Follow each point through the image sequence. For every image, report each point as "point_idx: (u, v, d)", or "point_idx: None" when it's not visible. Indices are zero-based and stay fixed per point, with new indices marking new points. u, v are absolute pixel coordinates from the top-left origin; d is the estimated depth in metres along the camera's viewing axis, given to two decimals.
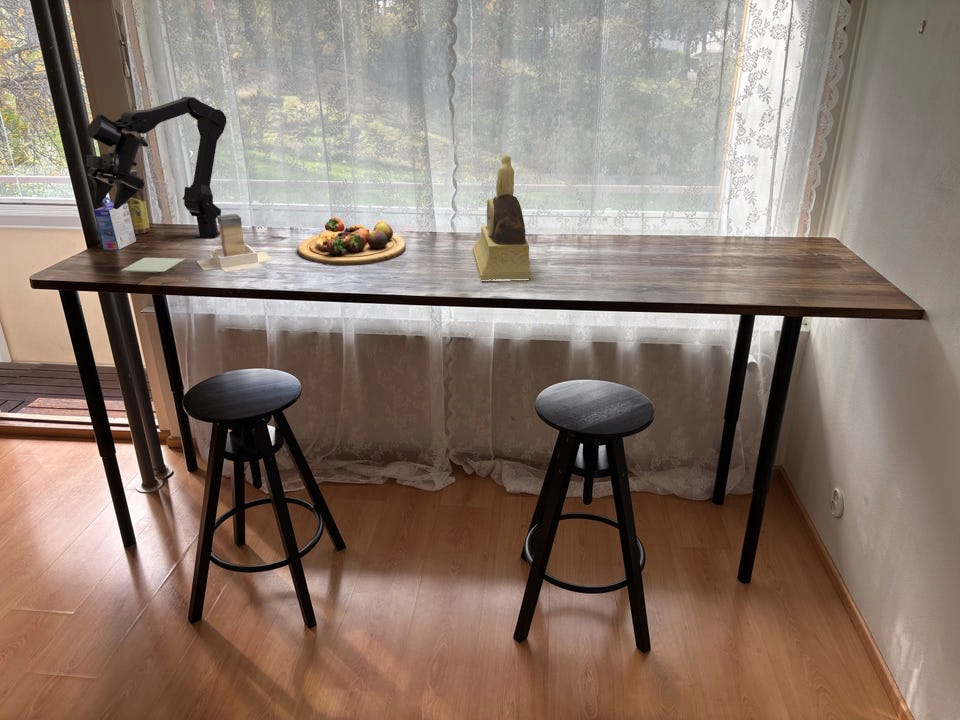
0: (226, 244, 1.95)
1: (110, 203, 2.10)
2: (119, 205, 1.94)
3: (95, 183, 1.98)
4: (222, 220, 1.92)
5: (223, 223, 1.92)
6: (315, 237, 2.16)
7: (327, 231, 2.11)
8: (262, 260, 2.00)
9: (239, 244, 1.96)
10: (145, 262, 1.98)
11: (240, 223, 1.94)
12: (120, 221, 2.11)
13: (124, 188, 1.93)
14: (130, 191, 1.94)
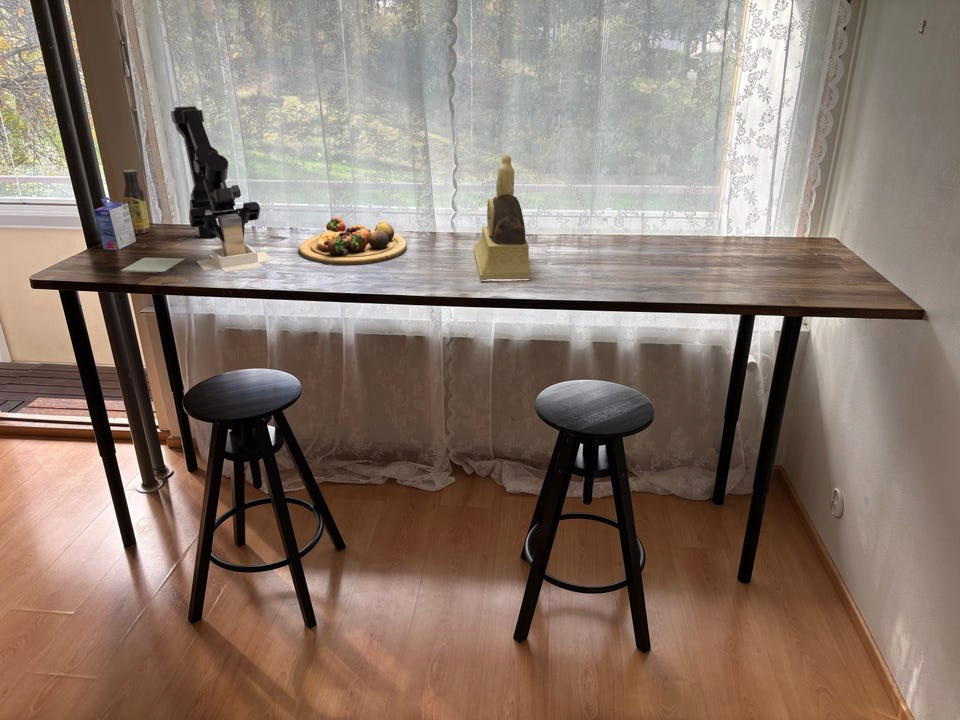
0: (226, 244, 1.95)
1: (110, 203, 2.11)
2: None
3: (214, 221, 1.94)
4: (222, 220, 1.92)
5: (223, 223, 1.92)
6: (316, 237, 2.17)
7: (328, 231, 2.11)
8: (262, 260, 2.00)
9: (240, 244, 1.96)
10: (145, 262, 1.98)
11: (240, 223, 1.94)
12: (120, 221, 2.11)
13: None
14: None
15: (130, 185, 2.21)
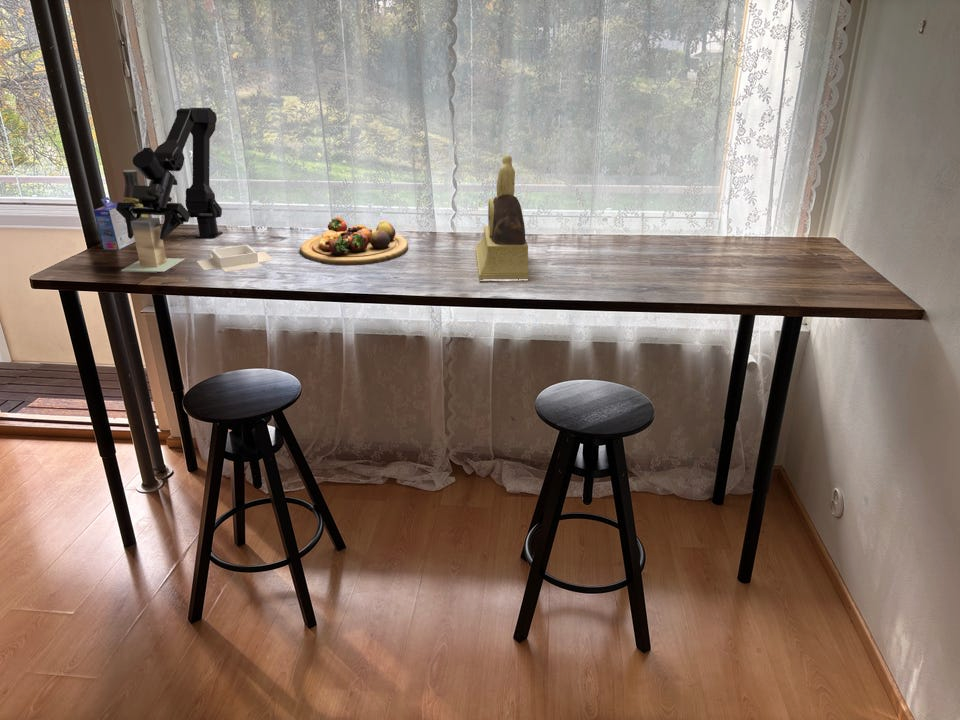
0: (137, 246, 1.92)
1: (110, 203, 2.10)
2: (165, 236, 1.92)
3: (128, 217, 1.93)
4: (131, 222, 1.89)
5: (132, 225, 1.89)
6: (318, 237, 2.17)
7: (330, 231, 2.11)
8: (262, 260, 2.00)
9: (149, 248, 1.91)
10: None
11: (148, 228, 1.89)
12: (120, 221, 2.11)
13: (170, 219, 1.93)
14: (175, 223, 1.94)
15: (130, 185, 2.21)
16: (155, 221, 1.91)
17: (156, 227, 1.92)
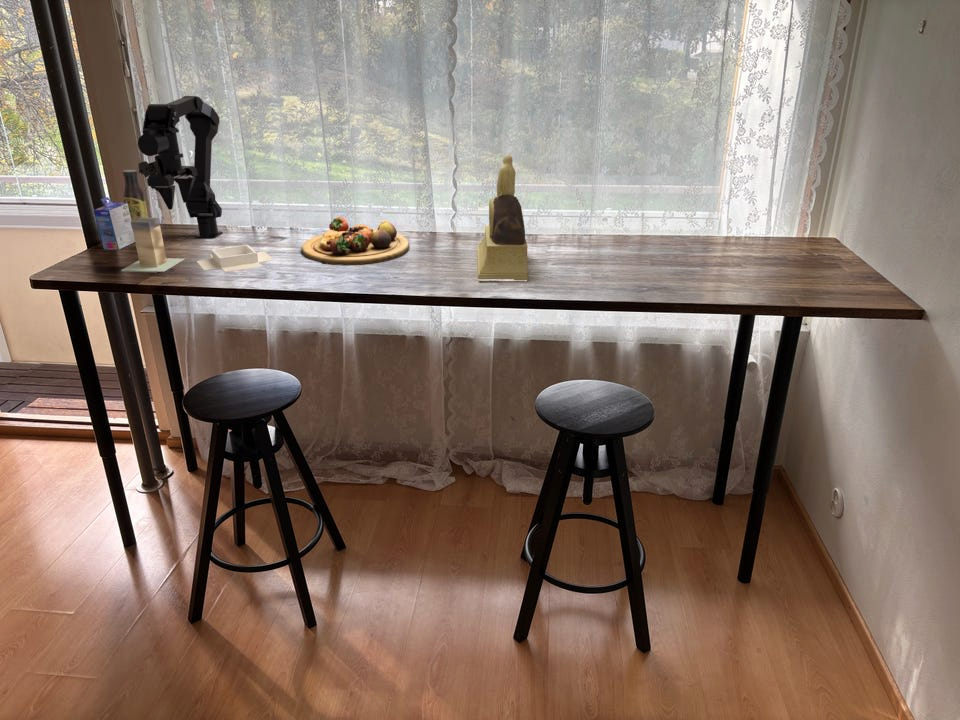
0: (137, 246, 1.92)
1: (110, 203, 2.10)
2: (170, 205, 2.01)
3: None
4: (131, 222, 1.89)
5: (132, 225, 1.89)
6: (319, 236, 2.17)
7: (331, 231, 2.12)
8: (262, 260, 2.00)
9: (149, 248, 1.91)
10: None
11: (148, 228, 1.89)
12: (120, 221, 2.11)
13: (164, 188, 1.98)
14: (168, 189, 1.98)
15: (130, 185, 2.21)
16: (155, 221, 1.91)
17: (156, 227, 1.92)
